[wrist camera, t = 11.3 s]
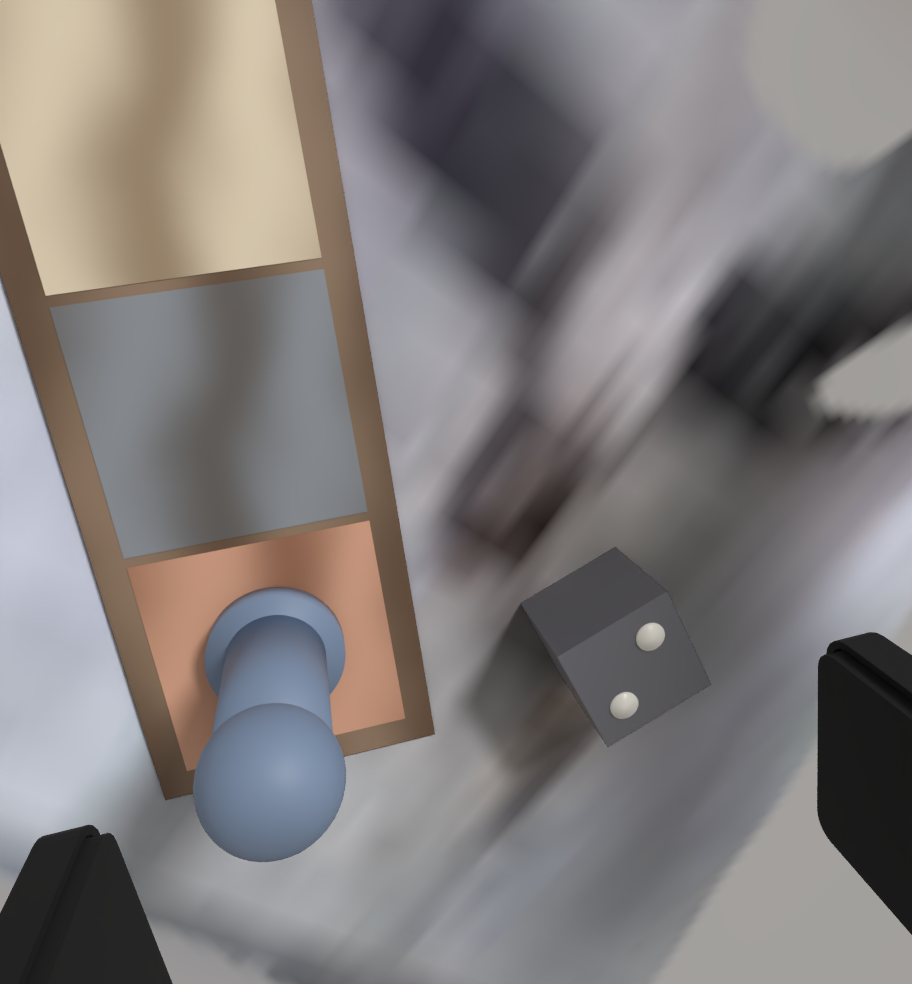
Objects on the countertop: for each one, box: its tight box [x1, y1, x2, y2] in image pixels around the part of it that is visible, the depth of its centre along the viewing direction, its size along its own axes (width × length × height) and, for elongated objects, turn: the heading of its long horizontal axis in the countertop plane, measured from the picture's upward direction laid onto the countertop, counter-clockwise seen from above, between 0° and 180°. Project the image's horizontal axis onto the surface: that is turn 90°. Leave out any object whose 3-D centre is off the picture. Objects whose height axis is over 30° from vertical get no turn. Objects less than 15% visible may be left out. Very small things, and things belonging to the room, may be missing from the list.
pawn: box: [193, 587, 346, 862], centre depth 26 cm, size 6×6×11 cm
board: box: [0, 0, 435, 800], centre depth 28 cm, size 12×32×1 cm, turn 8°
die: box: [520, 547, 711, 747], centre depth 32 cm, size 5×5×5 cm
